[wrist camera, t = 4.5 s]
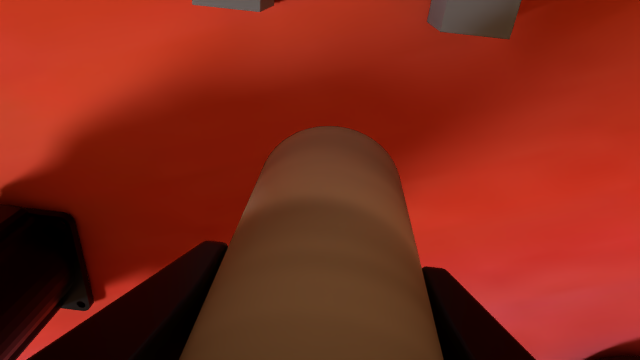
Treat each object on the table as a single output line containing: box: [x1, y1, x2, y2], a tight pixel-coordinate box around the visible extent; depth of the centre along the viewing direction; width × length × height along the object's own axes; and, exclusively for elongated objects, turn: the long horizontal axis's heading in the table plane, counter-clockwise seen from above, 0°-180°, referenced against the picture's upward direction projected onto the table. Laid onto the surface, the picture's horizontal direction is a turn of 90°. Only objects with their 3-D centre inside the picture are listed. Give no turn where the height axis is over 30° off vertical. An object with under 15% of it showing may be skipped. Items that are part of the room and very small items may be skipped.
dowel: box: [179, 126, 444, 360], centre depth 7 cm, size 4×4×7 cm
